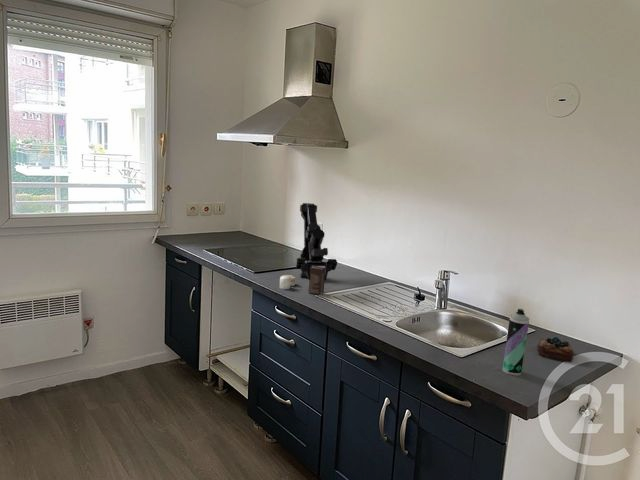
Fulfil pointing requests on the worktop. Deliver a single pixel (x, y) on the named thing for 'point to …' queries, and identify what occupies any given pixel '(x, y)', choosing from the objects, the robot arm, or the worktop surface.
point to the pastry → (555, 349)
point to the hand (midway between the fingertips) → (317, 279)
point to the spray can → (516, 343)
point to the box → (316, 280)
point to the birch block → (291, 280)
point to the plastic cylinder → (285, 282)
